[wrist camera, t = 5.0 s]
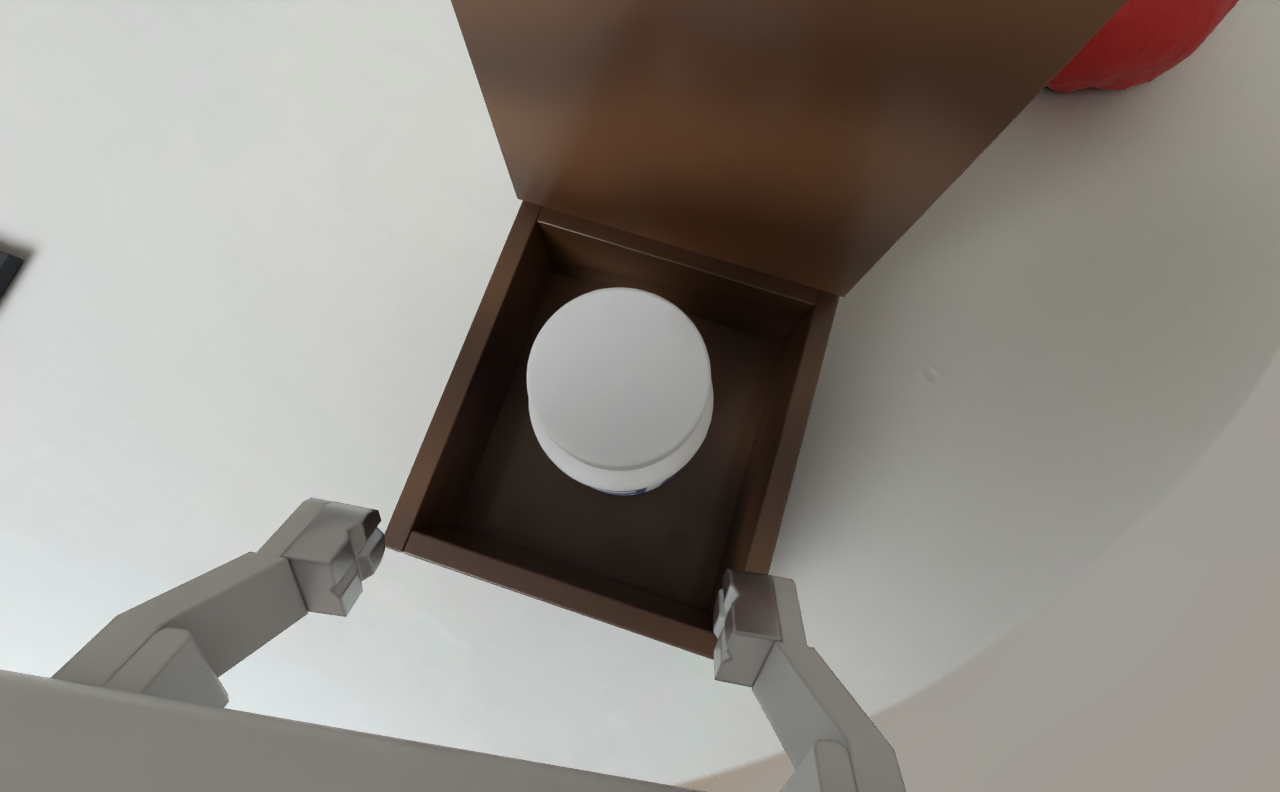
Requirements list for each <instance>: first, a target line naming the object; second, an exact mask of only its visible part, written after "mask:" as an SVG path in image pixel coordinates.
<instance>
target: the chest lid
mask: <svg viewBox="0 0 1280 792" xmlns="http://www.w3.org/2000/svg"><path fill="white" fill-rule="evenodd" d="M1127 1H1128V0H451V2H452V5H453V8H454V11H455V14H456V17H457V20H458V23H459V26H460V29H461V32H462V35H463V38H464V41H465V44H466V47H467V50H468V53H469V56H470V58H471V61H472V64H473V67H474V70H475V73H476V76H477V79H478V82H479V85H480V88H481V91H482V94H483V97H484V100H485V103H486V106H487V109H488V112H489V115H490V118H491V121H492V124H493V127H494V130H495V133H496V136H497V139H498V142H499V145H500V148H501V151H502V154H503V157H504V160H505V163H506V166H507V169H508V172H509V175H510V178H511V181H512V184H513V187H514V190H515V193H516V196H517V198H518V199H521V200H524V201H527V202H531V203H534V204H537V205H541V206H544V207H547V208H551V209H554V210H557V211H560V212H564V213H567V214H570V215H574V216H577V217H580V218H584V219H587V220H590V221H594V222H597V223H600V224H603V225H607V226H610V227H613V228H617V229H620V230H623V231H627V232H630V233H633V234H637V235H640V236H643V237H646V238H650V239H653V240H656V241H660V242H663V243H666V244H670V245H673V246H676V247H680V248H683V249H686V250H689V251H693V252H696V253H699V254H703V255H706V256H709V257H713V258H716V259H719V260H723V261H726V262H729V263H732V264H736V265H739V266H742V267H746V268H749V269H752V270H756V271H759V272H762V273H766V274H769V275H772V276H775V277H779V278H782V279H785V280H789V281H792V282H795V283H799V284H802V285H805V286H809V287H812V288H815V289H818V290H822V291H825V292H828V293H832V294H835V295H838V296H842V297H844V296H845V295H846V294H847V293H848V292H849V291H850V290H851V289H852V288H853V287H854V286H855V285H856V283H857V282H858V281H859V280H860V279H861V278H862V277H863V276H864V275H865V274H866V273H867V272H868V271H869V270H870V269H871V268H872V267H873V266H874V265H875V264H876V263H877V262H878V261H879V260H880V258H881V257H882V256H883V255H884V254H885V253H886V252H887V251H888V250H889V249H890V248H891V247H892V246H893V245H894V244H895V243H896V242H897V241H898V240H899V239H900V238H901V237H902V236H903V234H904V233H905V232H906V231H907V230H908V229H909V228H910V227H911V226H912V225H913V224H914V223H915V222H916V221H917V220H918V219H919V218H920V217H921V216H922V215H923V214H924V213H925V212H926V211H927V209H928V208H929V207H930V206H931V205H932V204H933V203H934V202H935V201H936V200H937V199H938V198H939V197H940V196H941V195H942V194H943V193H944V192H945V191H946V190H947V189H948V188H949V187H950V185H951V184H952V183H953V182H954V181H955V180H956V179H957V178H958V177H959V176H960V175H961V174H962V173H963V172H964V171H965V170H966V169H967V168H968V167H969V166H970V165H971V164H972V163H973V162H974V160H975V159H976V158H977V157H978V156H979V155H980V154H981V153H982V152H983V151H984V150H985V149H986V148H987V147H988V146H989V145H990V144H991V143H992V142H993V141H994V140H995V139H996V138H997V137H998V135H999V134H1000V133H1001V132H1002V131H1003V130H1004V129H1005V128H1006V127H1007V126H1008V125H1009V124H1010V123H1011V122H1012V121H1013V120H1014V119H1015V118H1016V117H1017V116H1018V115H1019V114H1020V113H1021V111H1022V110H1023V109H1024V108H1025V107H1026V106H1027V105H1028V104H1029V103H1030V102H1031V101H1032V100H1033V99H1034V98H1035V97H1036V96H1037V95H1038V94H1039V93H1040V92H1041V91H1042V90H1043V89H1044V88H1045V86H1046V85H1047V84H1048V83H1049V82H1050V81H1051V80H1052V79H1053V78H1054V77H1055V76H1056V75H1057V74H1058V73H1059V72H1060V71H1061V70H1062V69H1063V68H1064V67H1065V66H1066V65H1067V64H1068V62H1069V61H1070V60H1071V59H1072V58H1073V57H1074V56H1075V55H1076V54H1077V53H1078V52H1079V51H1080V50H1081V49H1082V48H1083V47H1084V46H1085V45H1086V44H1087V43H1088V42H1089V41H1090V40H1091V39H1092V37H1093V36H1094V35H1095V34H1096V33H1097V32H1098V31H1099V30H1100V29H1101V28H1102V27H1103V26H1104V25H1105V24H1106V23H1107V22H1108V21H1109V20H1110V19H1111V18H1112V17H1113V16H1114V15H1115V14H1116V12H1117V11H1118V10H1119V9H1120V8H1121V7H1122V6H1123V5H1124V4H1125V3H1126V2H1127Z"/></svg>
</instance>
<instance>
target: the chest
mask: <svg viewBox="0 0 1280 792" xmlns="http://www.w3.org/2000/svg"><path fill="white" fill-rule="evenodd" d="M613 287H626V288H634V289H640V290H644V291H647V292H650V293H653V294H656V295H658V296H660V297H662V298H664V299H666V300H668V301H669V302H671V303H673V304H674V305H675V306H677V307H678V308H679V309H680V310H681V311H682V312H683V313H685V314H686V315H687V317H688V318H689V319H690V320H691V321H692V322H693V323H694V325H695V326H696V328H697V329H698V331H699V333H700V334H701V337H702V339H703V341H704V343H705V346H706V349H707V352H708V356H709V360H710V368H711V380H712V386H713V412H712V418H711V422H710V425H709V428H708V431H707V434H706V437H705V439H704V441H703V443H702V444H701V446H700V448H699V449H698V451H697V452H696V453H695V455H694V456H693V458H692V459H691V460H690V461H689V462H688V463H687V464H686V465H685V466H684V467H683V468H682V469H681V470H680V471H679V472H677V473H676V474H675V475H674V476H673V477H672V478H671V479H670V480H669V481H667V482H666V483H664V484H663V485H661V486H660V487H657V488H655V489H653V490H651V491H648V492H645V493H642V494H638V495H630V496H620V495H613V494H608V493H604V492H601V491H599V490H596V489H594V488H591V487H589V486H587V485H584V484H582V483H580V482H578V481H576V480H574V479H573V478H571V477H570V476H568V475H567V474H565V473H564V472H563V471H562V470H561V469H559V468H558V467H557V466H556V465H555V464H554V462H553V461H552V460H551V459H550V458H549V457H548V455H547V454H546V453H545V451H544V450H543V448H542V447H541V445H540V443H539V441H538V439H537V437H536V435H535V432H534V430H533V426H532V423H531V419H530V413H529V396H528V391H527V364H528V360H529V356H530V352H531V349H532V346H533V344H534V341H535V340H536V337H537V335H538V334H539V332H540V330H541V329H542V327H543V326H544V325H545V323H546V322H547V321H548V319H549V318H550V317H551V316H552V315H553V314H554V313H555V312H556V311H558V310H559V309H560V308H561V307H562V306H564V305H565V304H567V303H568V302H570V301H571V300H573V299H575V298H577V297H579V296H581V295H583V294H586V293H589V292H592V291H594V290H599V289H604V288H613ZM838 300H839V296H838V295H835V294H832V293H828V292H825V291H822V290H818V289H815V288H812V287H809V286H805V285H802V284H799V283H795V282H792V281H789V280H785V279H782V278H779V277H775V276H772V275H769V274H766V273H762V272H759V271H756V270H752V269H749V268H746V267H742V266H739V265H736V264H732V263H729V262H726V261H723V260H719V259H716V258H713V257H709V256H706V255H703V254H699V253H696V252H693V251H689V250H686V249H683V248H680V247H676V246H673V245H670V244H666V243H663V242H660V241H656V240H653V239H650V238H646V237H643V236H640V235H637V234H633V233H630V232H627V231H623V230H620V229H617V228H613V227H610V226H607V225H603V224H600V223H597V222H594V221H590V220H587V219H584V218H580V217H577V216H574V215H570V214H567V213H564V212H560V211H557V210H554V209H551V208H547V207H544V206H541V205H537V204H534V203H531V202H527V201H524V200H523V202H522V204H521V207H520V209H519V212H518V214H517V216H516V219H515V221H514V224H513V226H512V228H511V231H510V233H509V236H508V238H507V240H506V243H505V245H504V248H503V250H502V252H501V255H500V257H499V260H498V262H497V265H496V267H495V269H494V272H493V274H492V277H491V279H490V281H489V284H488V286H487V289H486V291H485V293H484V296H483V298H482V301H481V303H480V306H479V308H478V310H477V313H476V315H475V318H474V320H473V322H472V325H471V327H470V330H469V332H468V334H467V337H466V339H465V342H464V344H463V346H462V349H461V351H460V354H459V356H458V359H457V361H456V363H455V366H454V368H453V371H452V373H451V375H450V378H449V380H448V383H447V385H446V387H445V390H444V392H443V395H442V397H441V400H440V402H439V404H438V407H437V409H436V412H435V414H434V416H433V419H432V421H431V424H430V426H429V428H428V431H427V433H426V436H425V438H424V441H423V443H422V445H421V448H420V450H419V453H418V455H417V457H416V460H415V462H414V465H413V467H412V469H411V472H410V474H409V477H408V479H407V481H406V484H405V486H404V489H403V491H402V494H401V496H400V498H399V501H398V503H397V506H396V508H395V510H394V513H393V515H392V518H391V520H390V522H389V525H388V527H387V530H386V532H385V535H384V537H385V547H386V548H389V549H392V550H395V551H398V552H404V553H405V554H407V555H410V556H413V557H416V558H419V559H421V560H424V561H427V562H430V563H433V564H436V565H439V566H442V567H445V568H448V569H451V570H453V571H456V572H459V573H462V574H465V575H468V576H471V577H474V578H477V579H480V580H483V581H486V582H488V583H491V584H494V585H497V586H500V587H503V588H506V589H509V590H512V591H515V592H518V593H520V594H523V595H526V596H529V597H532V598H535V599H538V600H541V601H544V602H547V603H550V604H552V605H555V606H558V607H561V608H564V609H567V610H570V611H573V612H576V613H579V614H582V615H584V616H587V617H590V618H593V619H596V620H599V621H602V622H605V623H608V624H611V625H614V626H617V627H619V628H622V629H625V630H628V631H631V632H634V633H637V634H640V635H643V636H646V637H649V638H651V639H654V640H657V641H660V642H663V643H666V644H669V645H672V646H675V647H678V648H681V649H683V650H686V651H689V652H692V653H695V654H698V655H701V656H704V657H707V658H710V659H713V660H714V649H715V646H716V643H717V641H718V638H717V637H716V635H715V634H714V632H713V615H714V607H715V601H716V597H717V594H718V591H719V590H720V589H722V588H723V576H724V574H725V571H726V570H727V569H735V570H741V571H748V572H754V573H760V574H767V575H768V573H769V569H770V565H771V561H772V557H773V553H774V549H775V545H776V542H777V538H778V534H779V530H780V526H781V522H782V518H783V514H784V510H785V506H786V503H787V499H788V495H789V491H790V487H791V483H792V479H793V475H794V471H795V467H796V463H797V460H798V456H799V452H800V448H801V444H802V440H803V436H804V432H805V428H806V424H807V421H808V417H809V413H810V409H811V405H812V401H813V397H814V393H815V389H816V385H817V382H818V378H819V374H820V370H821V366H822V362H823V358H824V354H825V350H826V346H827V343H828V339H829V335H830V331H831V327H832V323H833V319H834V315H835V311H836V307H837V304H838Z"/></svg>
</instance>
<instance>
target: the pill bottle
mask: <svg viewBox="0 0 1280 792" xmlns="http://www.w3.org/2000/svg"><path fill="white" fill-rule="evenodd" d="M527 391H528V396H529V413H530V419H531V423H532V426H533V430H534V432H535V435H536V437H537V439H538V441H539V443H540V445H541V447H542V448H543V450H544V451H545V453H546V454H547V455H548V457H549V458H550V459H551V460H552V461H553V462H554V464H555V465H556V466H557V467H558V468H559V469H561V470H562V471H563V472H564V473H565V474H567V475H568V476H570V477H571V478H573V479H574V480H576V481H578V482H580V483H582V484H584V485H587V486H589V487H591V488H594V489H596V490H599V491H601V492H604V493H608V494H613V495H620V496H630V495H638V494H642V493H645V492H648V491H651V490H653V489H655V488H657V487H660V486H661V485H663V484H664V483H666V482H667V481H669V480H670V479H671V478H672V477H673V476H674V475H675V474H676V473H677V472H679V471H680V470H681V469H682V468H683V467H684V466H685V465H686V464H687V463H688V462H689V461H690V460H691V459H692V458H693V456H694V455H695V453H696V452H697V451H698V449H699V448H700V446H701V444H702V443H703V441H704V439H705V437H706V434H707V431H708V428H709V425H710V422H711V418H712V412H713V386H712V380H711V368H710V360H709V356H708V352H707V349H706V346H705V343H704V341H703V339H702V337H701V334H700V333H699V331H698V329H697V328H696V326H695V325H694V323H693V322H692V321H691V320H690V319H689V318H688V317H687V315H686V314H685V313H683V312H682V311H681V310H680V309H679V308H678V307H677V306H675V305H674V304H673V303H671V302H669V301H668V300H666V299H664V298H662V297H660V296H658V295H656V294H653V293H650V292H647V291H644V290H640V289H634V288H626V287H613V288H604V289H599V290H594V291H592V292H589V293H586V294H583V295H581V296H579V297H577V298H575V299H573V300H571V301H570V302H568V303H567V304H565V305H564V306H562V307H561V308H560V309H559V310H558V311H556V312H555V313H554V314H553V315H552V316H551V317H550V318H549V319H548V321H547V322H546V323H545V325H544V326H543V327H542V329H541V330H540V332H539V334H538V335H537V337H536V340H535V341H534V344H533V346H532V349H531V352H530V356H529V360H528V364H527Z"/></svg>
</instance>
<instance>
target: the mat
mask: <svg viewBox="0 0 1280 792" xmlns="http://www.w3.org/2000/svg"><path fill="white" fill-rule="evenodd" d="M22 261H23V260H22V259H20V258H18V257H15V256H13V255H10V254H7V253H4V252H1V251H0V296H1V295H2V293H3V292H4V290H5V288H6V287H7V285H8V284H9V282H10V280H11V279H12V277H13V276H14V274H15V273H16V271H17V269H18V268H19V266H20V265H21V263H22Z"/></svg>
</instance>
